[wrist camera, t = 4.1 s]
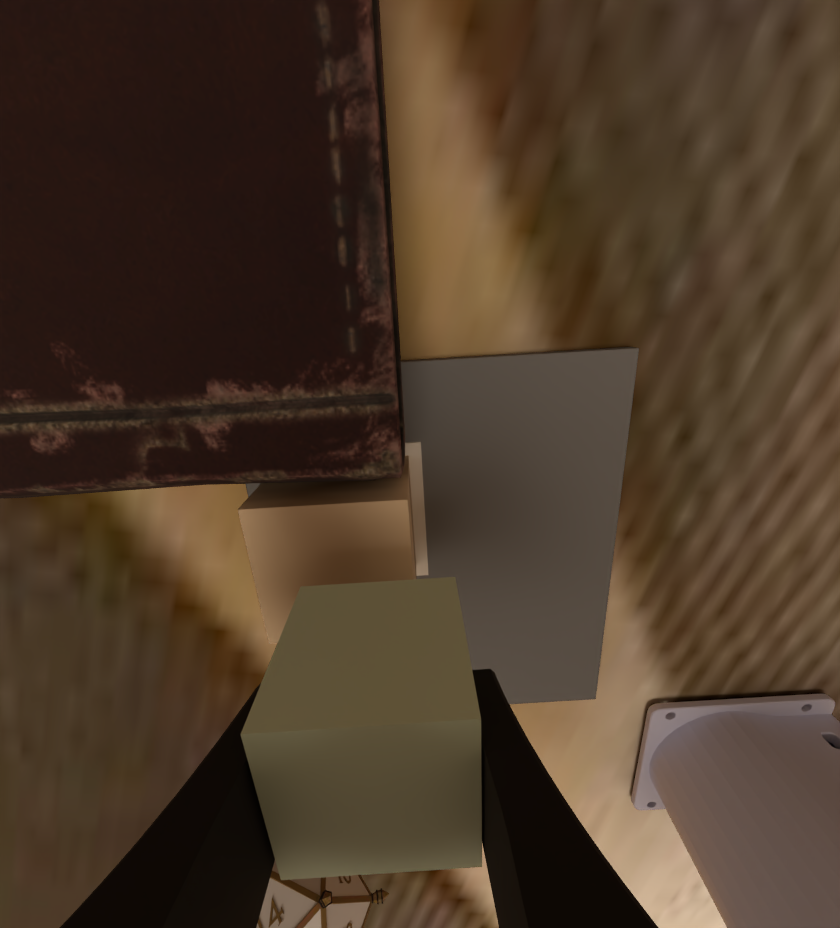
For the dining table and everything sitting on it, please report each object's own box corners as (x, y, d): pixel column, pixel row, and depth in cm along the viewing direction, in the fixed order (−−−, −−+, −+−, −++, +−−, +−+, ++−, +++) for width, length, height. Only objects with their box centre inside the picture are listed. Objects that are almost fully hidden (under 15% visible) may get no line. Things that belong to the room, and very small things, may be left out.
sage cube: (455, 577, 11) (481, 718, 7) (458, 693, 12) (481, 866, 8) (300, 586, 11) (240, 735, 7) (321, 702, 12) (280, 879, 8)
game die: (296, 753, 28) (169, 852, 18) (415, 800, 25) (336, 945, 16) (264, 906, 26) (107, 1101, 17) (387, 974, 23) (281, 1252, 14)
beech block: (408, 455, 16) (407, 499, 12) (416, 565, 17) (417, 634, 14) (279, 463, 16) (237, 509, 12) (299, 572, 17) (269, 643, 14)
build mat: (630, 346, 15) (640, 348, 15) (590, 688, 21) (596, 700, 20) (228, 371, 15) (219, 373, 15) (300, 706, 21) (296, 718, 20)
